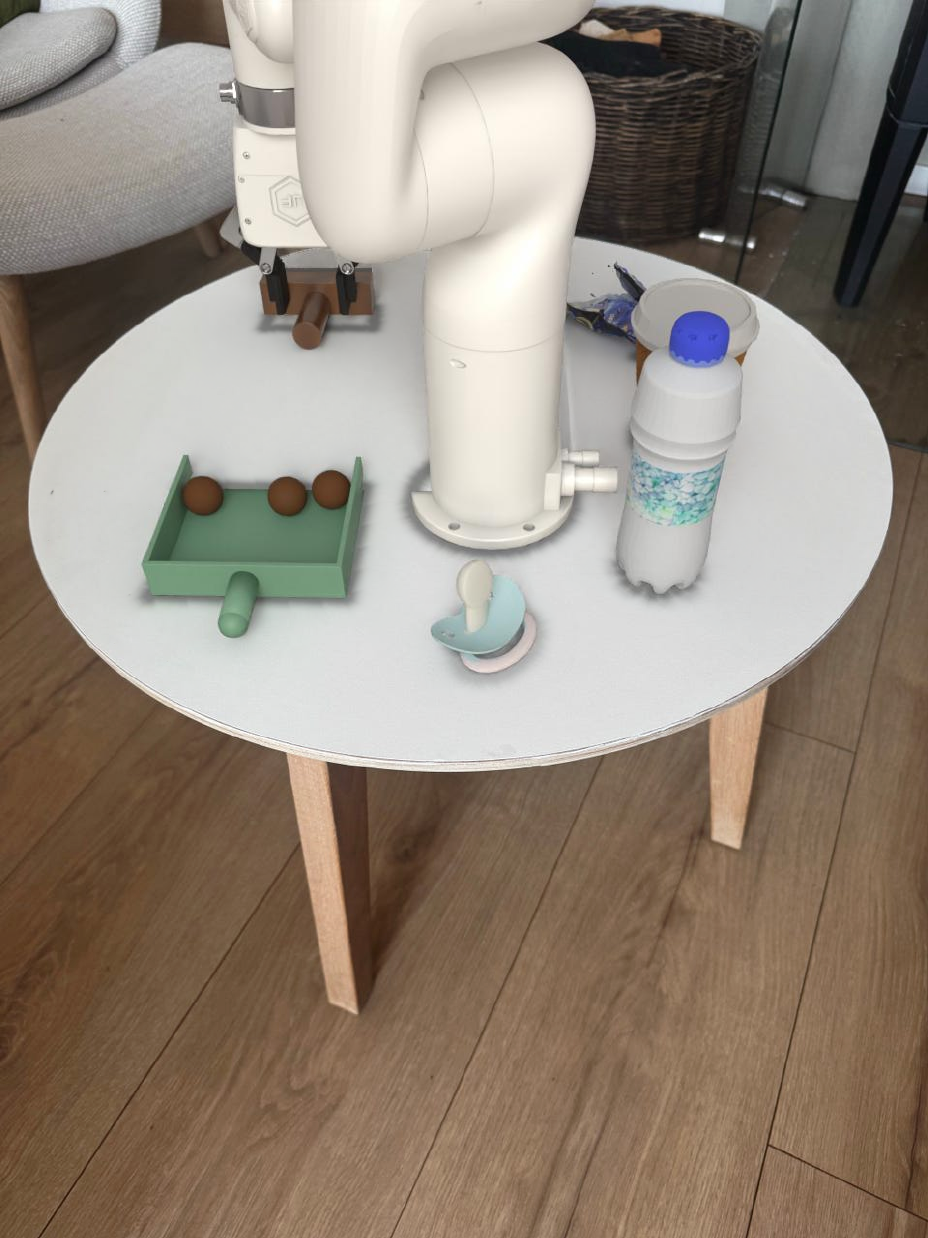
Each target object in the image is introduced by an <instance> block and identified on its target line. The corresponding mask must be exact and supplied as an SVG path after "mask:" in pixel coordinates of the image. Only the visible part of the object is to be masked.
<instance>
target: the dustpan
mask: <svg viewBox="0 0 928 1238" xmlns="http://www.w3.org/2000/svg"><path fill="white" fill-rule="evenodd" d="M189 457H190V456H189V454H183V455H182V457H181V460H180V463H179V465H178V468H177V470H176V474H175V476H174V478H173V481H172V483H171V486H170V489H169V491H168V493H167V497H166V499H165V501H164V505H163V506H162V509H161V512H160V515H159V518H158V520H157V522H156V525H155V528H154V531H153V533H152V535H151V538H150V541H149V542H148V545H147V548H146V551H145V554H144V556H143V559H142V562H141V568H142V570H143V574H144V576H145V579H146V582H147V585H148V588H149V591H150V594H151V595H152V596H190V597H191V596H193V597H194V596H195V597H224V598H223V602H222V605H221V609H220V612H219V615H218V619H217V627H218V630H219V632H220V633H221V634H222V635H223V636H225V637H226V638H230V639H237V638H240V637H242V636H244V634H245V633H247V630H248V628H249V625H250V621H251V617H252V614H253V609H254V606H255V602H256V598H257V597H259V598H313V599H314V598H323V599H324V598H325V599H346V598H347V596H348V590H349V586H350V579H351V573H352V567H353V561H354V555H355V548H356V543H357V536H358V533H359V532H358V531H359V526H360V519H361V514H362V507H363V501H364V496H365V490H361V489H362V483H363V478H364V472H363V471H364V470H363V462H362V460H363V459H362V456H355V460H354V467H353V470H352V476H351V481H350V484H351V487H350V493H349V498H348V502H347V503H346V504H345V505H344V506H342V507H341V508H338V509H326V508H323V507H321V506H320V505H319V504H318V503H317V502H316V501H315V499H314V497H313V495H312V489H306V491H307V502H306V505H305V507H304V508H303V510H302V511H301V512H299V513H298V514H296V515H293V516H283V515H280V514H278V513H276V512H275V511H274V510H273V509H272V508H271V507H270V505H269V503H268V499H267V492H268V489H269V488H222V491H223V501H222V504H221V506H220V508H219V509H218V510H217V511H216V512H214V513H212V514H210V515H205V516H201V515H197V514H194V513H192V512H191V511H190V510H189V509H188V508H187V507H186V506H185V504H184V502H183V497H182V493H183V489H184V486H185V485H186V483H187V482H188V481H189V480H191V479H192V478H193V477H192V476H193V474H194V471H193V468H192V464H191V461H190V458H189Z"/></svg>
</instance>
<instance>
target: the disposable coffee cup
mask: <svg viewBox="0 0 928 1238" xmlns="http://www.w3.org/2000/svg"><path fill="white" fill-rule="evenodd" d="M646 289H647V290H646V291H645V292H644V293H643V294H642V296H641V298H640V300H639V303H638V305H636V307H635V308H634V310H633V312H632V315H631V324H632V327H633V330H634V333H635V336H636V344H635V349H636V350H635V368H636V372H635V373H636V374H635V376H636V377H635V378H636V379H635V381H636V382H635V383H636V387H637V385H638V382H639V378H640V375H641V371H642V368H643V364H644V362H645V360H646V358H647V357H648V356H649V355H650V354H651V353H652V352H653V351H655V350H657V349H659V348H661V347H664V346H666V345H669V342H670V335H671V330H672V327H673V325H674V323H675V321H676V320H677V319H678V318H679V317H680V316H681V315H683V314H685V313H688V312H692V311H707V312H711V313H714V314H717V315H719V316H721V317H722V318H723V319H724V320H725V321H726V323H727V324H728V326H729V329H730V339H729V344H728V349H727V353H728V354H730V355H731V356H732V357H733V358H734V359H735V360H736V361H737V362H738V363H739V365H740V366H741V368H742V366H743V365H744V364H743V363H744V361H745V358H746V356H747V352H748V350H749V349H750V348H751V346H752V344H753V343H754V342H755V341H756V340H757V337H758V336H759V333H760V329H761V325H760V321H759V318H758V317H757V316H758V315H757V306H756V304H755V302H754V301H753V299H752V297H750V296H749V295H748V294H747V293H746V292H744V291H742V290H741V289H739V288H737V287H735V286H734V285H731V284H728V283H727V282H721V281H718V280H714V279H705V278H701V277H700V278H699V277H682V278H681V277H680V278H674V279H669V280H668V279H667V280H664V281H661V282H657V283H655V284H653V285H651V286H650V287H648V288H646Z"/></svg>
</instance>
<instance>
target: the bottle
mask: <svg viewBox="0 0 928 1238" xmlns="http://www.w3.org/2000/svg"><path fill="white" fill-rule="evenodd" d="M729 339H730V329H729V326H728V324H727V323H726V321H725V320H724V319H723V318H722V317H721V316H719V315H717V314H714V313H711V312H707V311H692V312H688V313H685V314H683V315H681V316H680V317H679V318H678V319H677V320H676V321H675V323H674V325H673V327H672V330H671V335H670V342H669V345H666V346H664V347H661V348H659V349H657V350H655V351H653V352H652V353H651V354H650V355H649V356H648V357H647V358H646V360H645V362H644V364H643V368H642V371H641V375H640V378H639V382H638V385H637V386H636V389H635V393H634V395H633V398H632V401H631V403H630V404H631V405H630V413H631V418H630V421H629V428H630V432H631V435H632V438H633V439H632V447H631V454H630V463H629V469H628V477H627V484H626V493H625V499H624V504H623V505H624V506H623V509H622V514H621V517H620V522H619V527H618V533H617V537H616V538H617V540H616V548H615V552H616V561H617V563H618V566H619V567H620V568H621V569H622V570H623V571H624V572H625V576H626V578H627V581H628V582H629V583H630V584H631V585H632V586H634V587H638V588H639V587H641V586H642V585H643V584H644V583H647V584H649V585H650V586H651V587H652V589H653V593H655V594H657V595H664V594H665V593H667V592H668V590H669V589H670V588H672V586H675V587H676V588H677V589H679V590H684V589H686V588H689V587H690V586H691V585H692V584H693V583H694V582H695V581H696V578H697V577H698V575H699V574H700V572H701V570H702V568H703V567H704V565H705V562H706V559H707V557H708V553H709V546H710V541H711V533H712V525H713V516H714V511H715V506H716V502H717V497H718V492H719V488H720V484H721V479H722V475H723V469H724V466H725V461H726V456H727V452H728V450H729V448H730V447H732V445H733V444H734V442H735V440H736V437H737V429H738V428H739V425H740V423H741V418H742V411H741V410H742V393H743V379H744V374H743V370H742V367H741V366H740V365H739V363H738V362H737V361H736V360H735V359H734V358H733V357H732V356H731V355H730V354H728V353H727V349H728V344H729Z"/></svg>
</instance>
